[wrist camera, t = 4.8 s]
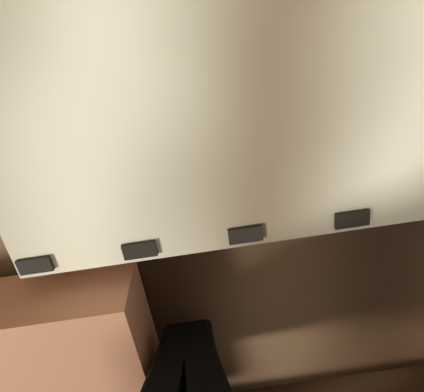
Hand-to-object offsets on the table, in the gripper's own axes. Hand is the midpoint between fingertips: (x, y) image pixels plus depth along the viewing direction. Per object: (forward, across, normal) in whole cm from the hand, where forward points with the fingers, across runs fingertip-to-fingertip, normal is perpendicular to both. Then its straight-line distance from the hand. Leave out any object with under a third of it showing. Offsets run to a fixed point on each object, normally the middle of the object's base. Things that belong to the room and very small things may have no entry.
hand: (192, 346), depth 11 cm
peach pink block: (+1, +4, 0) cm, 4 cm away
